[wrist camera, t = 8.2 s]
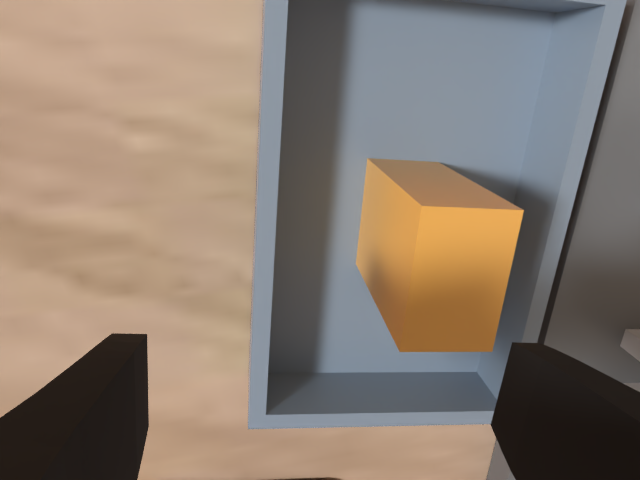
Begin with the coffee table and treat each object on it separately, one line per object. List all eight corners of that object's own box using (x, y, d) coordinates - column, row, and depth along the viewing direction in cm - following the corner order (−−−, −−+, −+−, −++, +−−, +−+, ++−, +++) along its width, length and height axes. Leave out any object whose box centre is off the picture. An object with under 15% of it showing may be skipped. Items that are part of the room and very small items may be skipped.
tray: (482, 376, 22) (516, 423, 19) (248, 378, 20) (247, 429, 18) (567, -4, 17) (630, -17, 14) (265, -39, 15) (267, -60, 12)
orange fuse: (422, 265, 19) (492, 351, 13) (355, 263, 19) (399, 352, 13) (438, 162, 18) (524, 210, 12) (367, 158, 17) (421, 205, 12)
